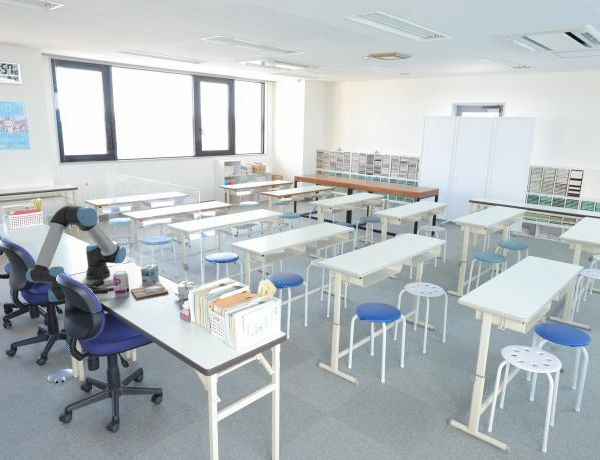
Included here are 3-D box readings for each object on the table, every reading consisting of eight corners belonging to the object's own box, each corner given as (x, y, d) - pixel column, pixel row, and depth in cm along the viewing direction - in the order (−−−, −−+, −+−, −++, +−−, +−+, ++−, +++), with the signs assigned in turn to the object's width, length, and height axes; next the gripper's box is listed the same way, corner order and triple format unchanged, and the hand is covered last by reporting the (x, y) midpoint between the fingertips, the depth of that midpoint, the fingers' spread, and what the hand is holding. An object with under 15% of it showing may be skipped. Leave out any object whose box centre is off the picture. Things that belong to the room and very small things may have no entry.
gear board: (131, 291, 281) (130, 288, 281) (161, 286, 291) (161, 283, 291) (136, 300, 268) (136, 297, 268) (168, 293, 278) (168, 291, 278)
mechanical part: (184, 294, 277) (183, 276, 274) (198, 298, 271) (197, 279, 269) (170, 300, 268) (169, 281, 265) (185, 304, 262) (184, 285, 259)
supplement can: (121, 299, 269) (118, 276, 265) (112, 296, 273) (110, 273, 270) (132, 295, 276) (130, 272, 272) (123, 292, 280) (121, 269, 276)
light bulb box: (151, 284, 293) (149, 269, 291) (141, 284, 295) (140, 268, 292) (159, 279, 304) (158, 264, 301) (150, 278, 305) (148, 263, 302)
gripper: (77, 290, 271) (114, 283, 282) (81, 304, 250) (121, 296, 261) (75, 278, 269) (113, 272, 280) (80, 291, 249) (120, 284, 259)
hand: (117, 284), depth 271 cm, fingers open, 13 cm apart
